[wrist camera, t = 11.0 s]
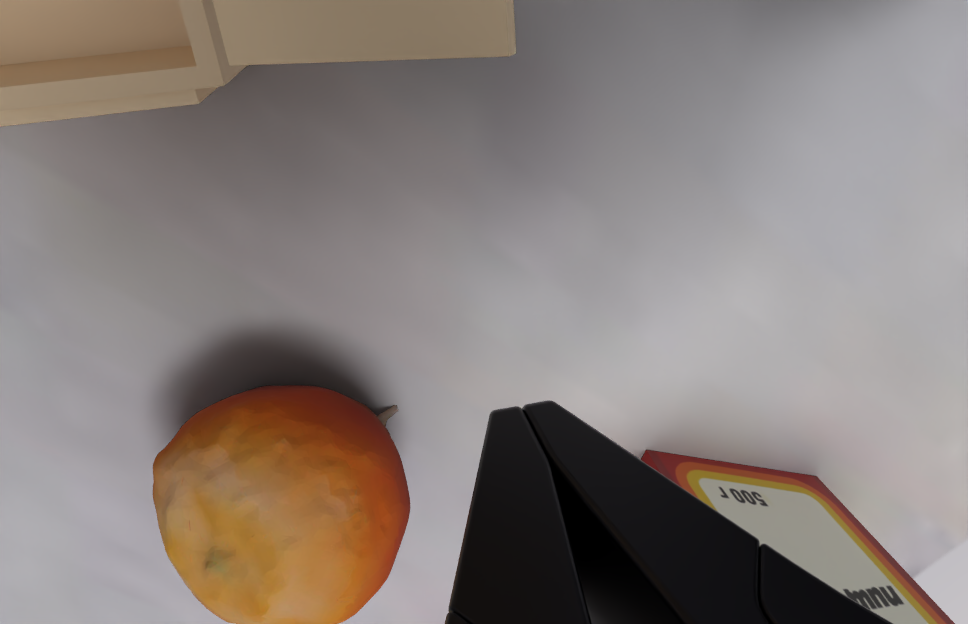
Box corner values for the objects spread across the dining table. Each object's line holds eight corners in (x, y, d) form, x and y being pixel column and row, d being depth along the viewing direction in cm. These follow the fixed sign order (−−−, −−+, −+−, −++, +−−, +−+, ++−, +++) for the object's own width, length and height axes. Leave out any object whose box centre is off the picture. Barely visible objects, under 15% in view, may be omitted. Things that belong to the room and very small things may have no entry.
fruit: (425, 553, 26) (312, 731, 18) (262, 468, 27) (99, 602, 20) (481, 388, 22) (370, 526, 15) (292, 302, 24) (110, 391, 17)
